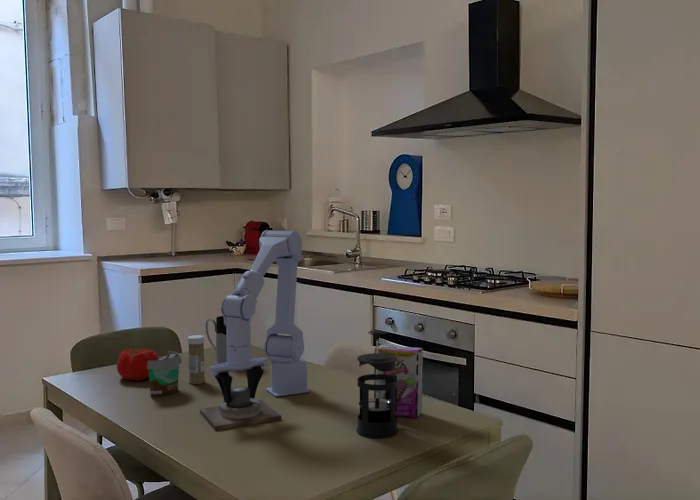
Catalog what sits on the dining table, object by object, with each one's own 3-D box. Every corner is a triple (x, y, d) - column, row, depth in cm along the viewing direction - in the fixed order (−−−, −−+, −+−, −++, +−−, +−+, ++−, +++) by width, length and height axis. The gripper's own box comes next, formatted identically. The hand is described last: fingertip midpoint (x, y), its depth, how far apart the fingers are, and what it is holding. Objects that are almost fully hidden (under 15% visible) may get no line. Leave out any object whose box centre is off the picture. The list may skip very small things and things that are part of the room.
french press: (379, 442, 142) (379, 337, 140) (346, 432, 148) (345, 331, 146) (410, 428, 151) (410, 329, 149) (377, 419, 157) (377, 324, 155)
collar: (261, 403, 169) (261, 392, 169) (281, 419, 157) (281, 407, 156) (199, 412, 162) (199, 400, 162) (215, 430, 149) (215, 417, 149)
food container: (169, 399, 173) (168, 362, 172) (147, 398, 174) (146, 361, 173) (189, 386, 185) (189, 351, 184) (169, 385, 186) (168, 350, 185)
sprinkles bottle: (208, 382, 189) (207, 336, 188) (194, 385, 185) (193, 338, 184) (199, 379, 192) (198, 334, 191) (185, 382, 189) (184, 336, 188)
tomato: (170, 376, 196) (169, 347, 195) (136, 386, 185) (135, 356, 185) (141, 370, 202) (140, 343, 202) (107, 379, 192) (106, 351, 191)
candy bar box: (373, 414, 160) (373, 348, 159) (379, 408, 165) (379, 343, 164) (418, 419, 157) (418, 351, 155) (422, 413, 161) (423, 347, 160)
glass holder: (229, 368, 204) (228, 321, 203) (196, 362, 212) (195, 316, 210) (248, 362, 211) (247, 316, 210) (216, 357, 219) (215, 312, 218)
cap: (244, 407, 163) (244, 385, 162) (253, 412, 159) (253, 390, 158) (225, 411, 160) (225, 388, 159) (235, 416, 156) (234, 393, 155)
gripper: (257, 337, 165) (258, 390, 166) (203, 345, 157) (204, 401, 158) (271, 342, 160) (272, 397, 161) (216, 351, 151) (217, 408, 152)
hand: (239, 400), depth 159 cm, fingers open, 6 cm apart
